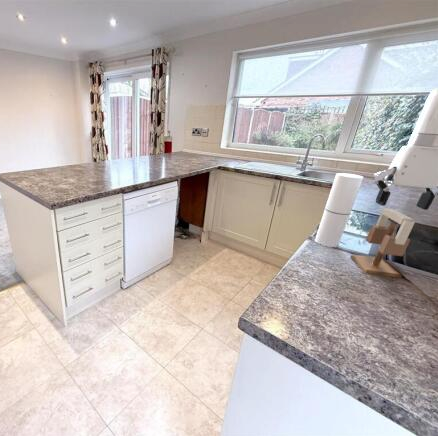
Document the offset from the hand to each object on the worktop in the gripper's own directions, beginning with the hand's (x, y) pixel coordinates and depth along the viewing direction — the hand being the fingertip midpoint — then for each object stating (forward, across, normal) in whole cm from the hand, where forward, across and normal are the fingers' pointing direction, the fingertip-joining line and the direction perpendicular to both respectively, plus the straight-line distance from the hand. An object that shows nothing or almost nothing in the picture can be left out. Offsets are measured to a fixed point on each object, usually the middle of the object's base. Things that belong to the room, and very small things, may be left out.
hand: (400, 206), depth 68 cm
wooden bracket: (+13, 0, 0) cm, 13 cm away
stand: (+20, 0, 0) cm, 20 cm away
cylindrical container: (+20, +8, -14) cm, 26 cm away
